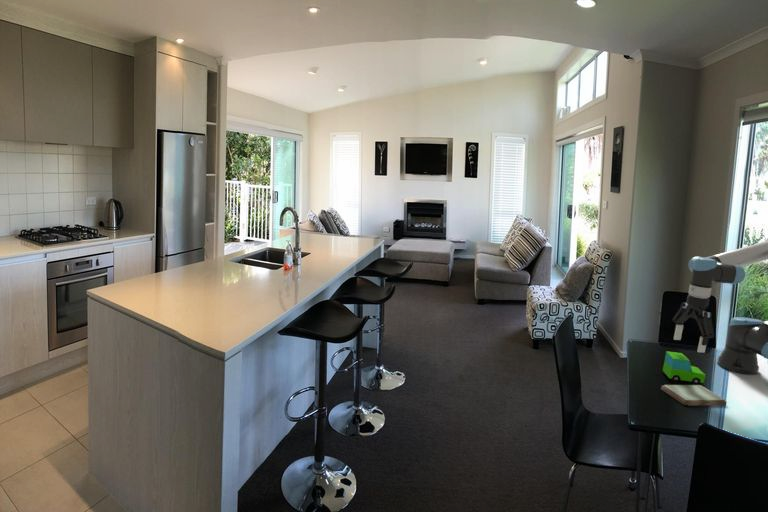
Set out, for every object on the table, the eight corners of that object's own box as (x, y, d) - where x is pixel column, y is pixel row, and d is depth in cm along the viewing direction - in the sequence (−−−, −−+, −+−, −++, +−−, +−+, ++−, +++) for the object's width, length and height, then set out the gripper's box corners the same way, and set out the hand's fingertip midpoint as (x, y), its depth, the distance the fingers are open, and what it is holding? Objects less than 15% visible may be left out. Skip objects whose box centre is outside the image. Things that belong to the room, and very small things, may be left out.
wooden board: (700, 389, 195) (701, 384, 195) (725, 405, 182) (727, 400, 182) (660, 389, 193) (661, 384, 193) (684, 405, 180) (685, 400, 180)
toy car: (705, 387, 198) (710, 364, 196) (670, 382, 200) (674, 359, 198) (695, 376, 207) (699, 354, 206) (661, 372, 210) (665, 350, 208)
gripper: (669, 287, 208) (660, 334, 213) (714, 304, 184) (703, 357, 188) (685, 288, 209) (675, 335, 214) (732, 305, 185) (720, 358, 189)
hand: (688, 345), depth 201 cm, fingers open, 13 cm apart
